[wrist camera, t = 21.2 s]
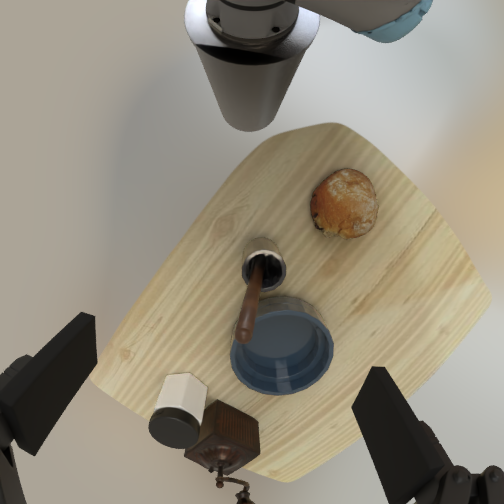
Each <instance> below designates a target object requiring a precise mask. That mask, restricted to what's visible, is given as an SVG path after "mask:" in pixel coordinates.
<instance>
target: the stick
mask: <svg viewBox="0 0 504 504" xmlns="http://www.w3.org/2000/svg"><path fill="white" fill-rule="evenodd" d="M265 264H266V256H265V255H264V254H259V255H257V256H256V257H255V261H254V264H253V268H252V272H251V275H250V279H249V283H248V286H247V290H246V294H245V297H244V301H243V305H242V308H241V312H240V315H239V319H238V323H237V326H236V330H235V335H234V336H235V339H236V341H237V342H238V343H241V344H246V343H248V342H250V341H251V339H252V336H253V330H254V325H255V319H256V314H257V308H258V303H259V297H260V292H261V286H262V281H263V275H264V269H265Z"/></svg>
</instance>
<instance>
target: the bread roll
mask: <svg viewBox="0 0 504 504" xmlns="http://www.w3.org/2000/svg"><path fill="white" fill-rule="evenodd" d="M310 206H311V212H312V217H313V220H314V221H315V227H316V229H319V230H323V232H322V233H323V235H325V237H329V238H330V237H331V236H335V235H336V236H341V237H342V238H344V239H346V240H347V239H349V238H357V237H359V236H362V235H364V234H366V233H367V232H369V231H370V230H371V229H372V227H373V226H374V224H375V221H376V219H377V213H378V208H379V205H378V202H377V199H376V194H375V191H374V188H373V186H372V183H371V181H370V180H369V179H368V178H367V177H366V176H365V175H364V174H363V173H361V172H359V171H357V170H353V169H342V170H339V171H336V172H334V173H333V174H331V175H330V176H329V177H328V178H327V179H326V180H324V181H323V182H322V183H321V184H320V185H319V186H318V187H317V188H316V190H315V191H314V192H313V195H312V200H311V204H310Z"/></svg>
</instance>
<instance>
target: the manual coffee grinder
mask: <svg viewBox="0 0 504 504" xmlns="http://www.w3.org/2000/svg"><path fill="white" fill-rule="evenodd" d="M258 423H259V422H258V421H257V420H255V419H254V418H253V417H251V416H249V415H247V414H245V413H243V412H241V411H239V410H237V409H236V408H234V407H231V406H229V405H227V404H225V403H223V402H221V401H219V400H216V401H215V402H213V403H212V404H211V405H209V406H208V407H207V408H206V409H205V410H204V413H203V419H202V423H201V426H200V433H199V439H198V442H197V443H196V444H195V445H194V446H192V447H190V448H186V449H185V454H184V457H186V458H188V459H190V460H192V461H194V462H196V463H198V464H200V465H201V466H203V467H204V468H207V469H209V470H208V471H209V472H210V473H212V472H213V471H217V472H218V477H217V478H216V481H217V483H216V486H217V487H218V488H222V487H223V486H224V484H223V482H224V481H226V482H234V483H238V484H242V485H244V489H243V491H240V492H239V493H237V494H236V495H235V496H236V497H237V499H238V502H237V504H255V503H254V502H253V501H251V500H250V499H249V495H250V493H249V492H248V490H249V484H248V482H245V481H242V480H238V479H235V478H229V477H223V474H224V475H229V474H231V473H233V472H234V471H236V470H238V469H239V468H241V467H243V466H244V465H246V464H247V463H249V462H250V461H252V460H253V459H254V458H256V457H257V456H258V455H260V440H259V427H258Z"/></svg>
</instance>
